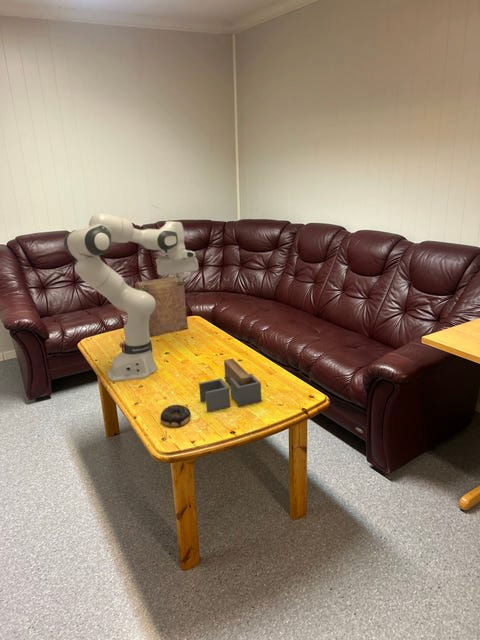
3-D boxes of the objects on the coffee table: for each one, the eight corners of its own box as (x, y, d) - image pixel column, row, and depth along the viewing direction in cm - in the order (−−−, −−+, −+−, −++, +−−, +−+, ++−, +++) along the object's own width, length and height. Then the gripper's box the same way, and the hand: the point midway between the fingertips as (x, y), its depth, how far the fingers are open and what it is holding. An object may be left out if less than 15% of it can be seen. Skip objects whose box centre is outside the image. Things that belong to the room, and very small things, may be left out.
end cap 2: (239, 406, 175) (238, 387, 172) (230, 396, 183) (229, 378, 181) (261, 401, 178) (260, 382, 176) (252, 391, 186) (251, 373, 184)
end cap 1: (230, 406, 175) (229, 388, 173) (207, 412, 172) (206, 393, 170) (222, 396, 184) (220, 378, 181) (200, 401, 181) (198, 383, 178)
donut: (158, 428, 163) (157, 419, 162) (164, 411, 174) (163, 402, 173) (189, 428, 163) (188, 418, 161) (193, 411, 174) (192, 401, 173)
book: (146, 338, 252) (139, 285, 242) (140, 333, 260) (134, 282, 250) (188, 329, 264) (183, 278, 254) (182, 324, 271) (177, 275, 262)
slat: (242, 401, 179) (241, 378, 176) (225, 381, 197) (224, 360, 194) (251, 399, 180) (251, 376, 177) (234, 379, 198) (232, 358, 195)
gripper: (156, 257, 215) (159, 285, 219) (198, 252, 221) (200, 280, 226) (154, 255, 220) (157, 283, 225) (194, 250, 227) (196, 277, 231)
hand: (179, 281), depth 225 cm, fingers closed
